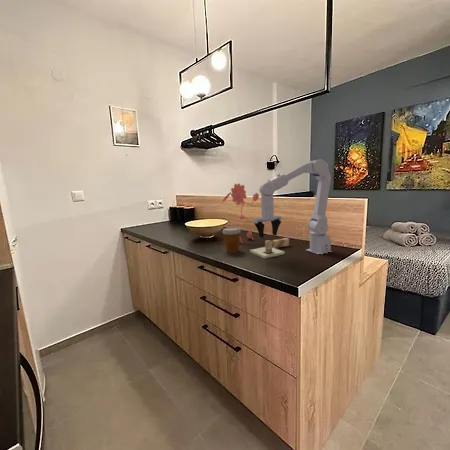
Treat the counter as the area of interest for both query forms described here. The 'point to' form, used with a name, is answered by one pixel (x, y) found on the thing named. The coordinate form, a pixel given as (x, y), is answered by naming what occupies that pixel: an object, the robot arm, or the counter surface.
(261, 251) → the stool seat
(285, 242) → the hinged leg
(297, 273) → the counter surface
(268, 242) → the loose leg
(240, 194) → the figurine
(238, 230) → the disposable coffee cup
